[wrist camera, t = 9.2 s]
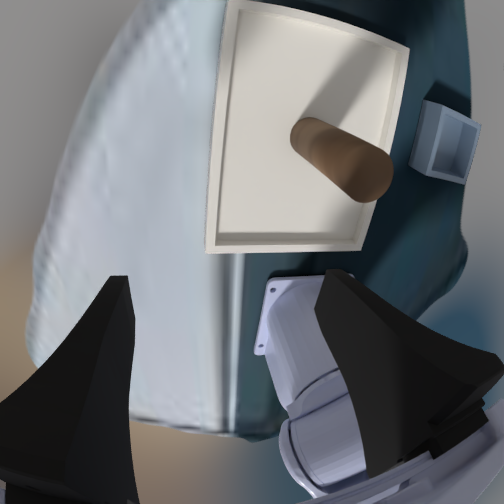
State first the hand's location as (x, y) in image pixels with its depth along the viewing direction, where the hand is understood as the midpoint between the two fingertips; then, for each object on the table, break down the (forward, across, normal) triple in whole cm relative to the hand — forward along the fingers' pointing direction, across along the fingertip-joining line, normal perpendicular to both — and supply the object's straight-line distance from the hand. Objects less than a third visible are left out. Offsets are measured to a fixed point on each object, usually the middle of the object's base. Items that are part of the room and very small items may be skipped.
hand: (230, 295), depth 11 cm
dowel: (+9, -6, -4) cm, 12 cm away
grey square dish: (+10, -18, -6) cm, 21 cm away
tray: (+10, -6, -4) cm, 12 cm away
